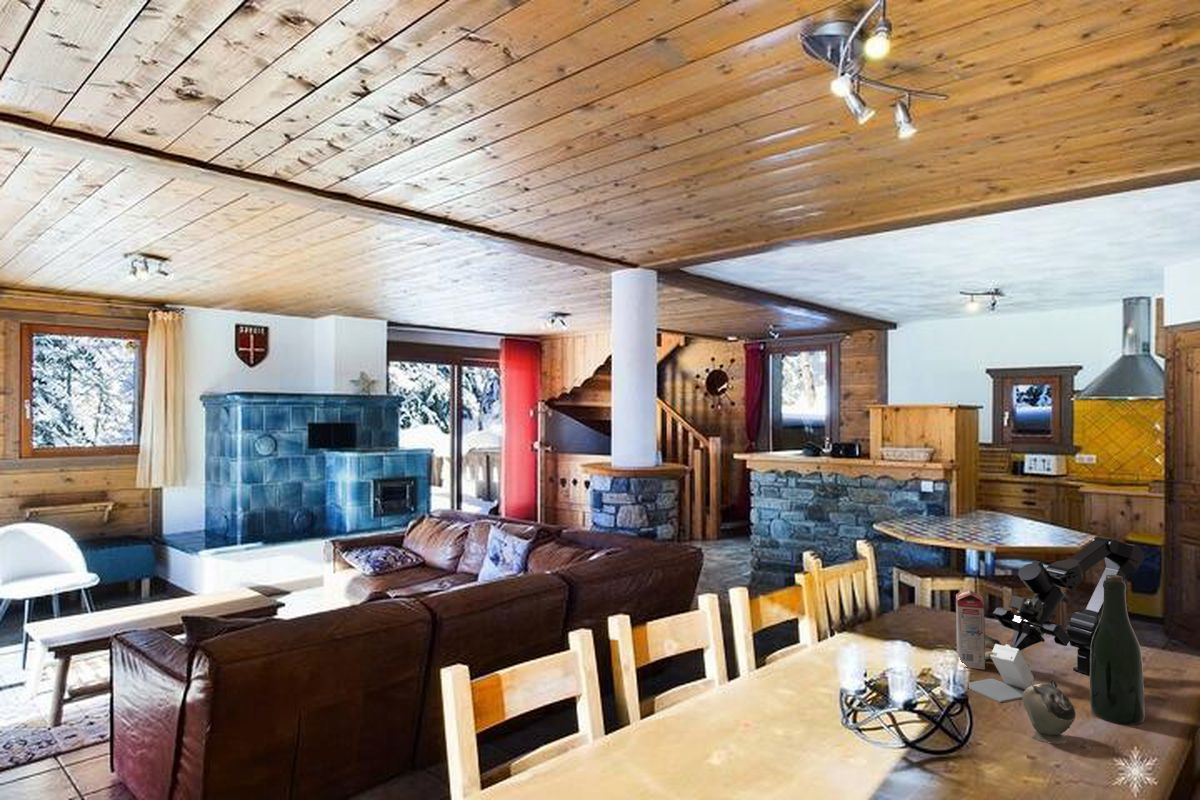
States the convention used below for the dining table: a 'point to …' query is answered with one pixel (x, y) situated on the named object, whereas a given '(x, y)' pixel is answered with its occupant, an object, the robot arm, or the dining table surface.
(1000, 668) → the skincare box
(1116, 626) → the beer bottle
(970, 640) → the juice carton
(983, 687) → the mat
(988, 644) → the eagle figurine
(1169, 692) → the dining table surface
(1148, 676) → the dining table surface
